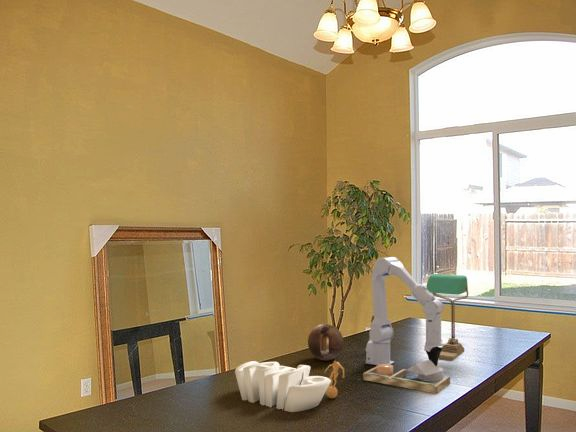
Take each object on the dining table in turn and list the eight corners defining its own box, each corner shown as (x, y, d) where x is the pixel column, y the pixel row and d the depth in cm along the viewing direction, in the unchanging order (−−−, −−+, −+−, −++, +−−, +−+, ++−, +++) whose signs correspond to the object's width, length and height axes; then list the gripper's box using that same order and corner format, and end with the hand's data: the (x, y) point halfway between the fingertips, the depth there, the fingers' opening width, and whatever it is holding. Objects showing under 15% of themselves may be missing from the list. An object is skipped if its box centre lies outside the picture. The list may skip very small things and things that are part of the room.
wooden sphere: (317, 353, 236) (317, 320, 236) (348, 358, 229) (348, 323, 229) (301, 361, 223) (301, 325, 223) (335, 366, 215) (334, 329, 216)
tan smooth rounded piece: (374, 378, 199) (374, 366, 199) (381, 374, 204) (381, 362, 204) (389, 381, 196) (389, 368, 196) (395, 377, 200) (395, 365, 201)
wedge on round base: (426, 385, 191) (447, 378, 199) (425, 366, 191) (447, 360, 199) (406, 379, 198) (427, 372, 206) (405, 361, 198) (427, 355, 206)
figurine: (318, 396, 178) (318, 360, 178) (329, 392, 182) (329, 357, 183) (337, 402, 172) (337, 365, 172) (348, 397, 177) (348, 361, 177)
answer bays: (363, 379, 197) (363, 372, 197) (379, 370, 209) (379, 364, 209) (436, 393, 181) (436, 385, 181) (450, 383, 193) (450, 375, 193)
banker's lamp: (472, 352, 238) (472, 274, 239) (460, 362, 221) (460, 278, 221) (437, 347, 247) (437, 272, 247) (423, 357, 229) (422, 276, 230)
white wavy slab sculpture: (222, 395, 180) (222, 364, 180) (255, 383, 193) (255, 354, 193) (306, 418, 159) (306, 383, 159) (336, 403, 172) (336, 370, 172)
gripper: (437, 335, 196) (437, 372, 196) (449, 329, 208) (450, 363, 208) (418, 333, 200) (419, 369, 200) (432, 327, 212) (432, 361, 212)
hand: (433, 366), depth 204 cm, fingers closed
